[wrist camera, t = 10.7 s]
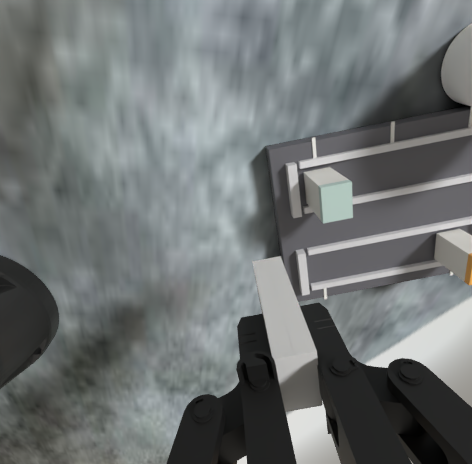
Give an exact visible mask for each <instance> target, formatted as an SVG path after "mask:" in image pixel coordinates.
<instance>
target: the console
mask: <svg viewBox="0 0 472 464" xmlns="http://www.w3.org/2000/svg"><path fill="white" fill-rule="evenodd" d="M265 147H266V154H267V161H268V169H269V176H270V183H271V190H272V197H273V204H274V211H275V218H276V225H277V232H278V239H279V247H280V254H281V259H282V261H283V264H284V267H285V269H286V272H287V274H288V277H289V280H290V282H291V285H292V288H293V290H294V293H295V295H296V298H297V301H298V302H299V301H305V300H310V299H315V298H320V297H324V299H327V296H331V295H336V294H341V293H347V292H352V291H357V290H362V289H368V288H373V287H378V286H383V285H389V284H394V283H399V282H404V281H410V280H415V279H420V278H425V277H431V276H436V275H441V274H446V273H450V276H451V275H453V273H452V272H451V271H450V270H449V269H447V268H446V267H445V266H443V265H442V264H441V263H439V262H438V261H437V260H435V259H434V254H435V244H436V234H437V233H440V232H445V231H451V230H456V229H461V230H463V231H465V232H467V233H468V234H470V235H472V106H464V107H459V108H454V109H449V110H444V111H439V112H434V113H429V114H424V115H419V116H414V117H409V118H404V119H399V120H394V121H389V122H384V123H379V124H374V125H369V126H364V127H359V128H354V129H349V130H344V131H339V132H334V133H329V134H324V135H319V136H314V137H309V138H304V139H299V140H294V141H289V142H284V143H279V144H274V145H269V146H265ZM327 167H331V168H332V169H334V170H335V171H337V172H338V173H340V174H341V175H343V176H344V177H346V178H347V179H349V180H350V181H352V201H353V218H349V219H344V220H339V221H334V222H329V223H322V221H321V220H320V219H319V218H318V216H317V215H316V214H315V213H314V212H313V210H312V209H311V208H310V207H309V205H308V204H307V203H306V193H305V182H304V172H307V171H312V170H317V169H322V168H327Z"/></svg>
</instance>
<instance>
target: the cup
mask: <svg viewBox="0 0 472 464" xmlns="http://www.w3.org/2000/svg"><path fill="white" fill-rule="evenodd" d="M441 80H442V85H443V88H444V90H445V92H446V94H447V95H448V96H449V97H450V98H451V99H452V100H454V101H455V102H458V103H461V104H464V105H468V106H472V24H470V25H469V26H467V27H466V28H464V29H463V30H462V31H461V32H460V33H459V34H458V35H457V36H456V37H455V39H454V40H453V41H452V43H451V44H450V46H449V48H448V50H447V52H446V54H445V57H444V60H443V63H442V69H441Z"/></svg>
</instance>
